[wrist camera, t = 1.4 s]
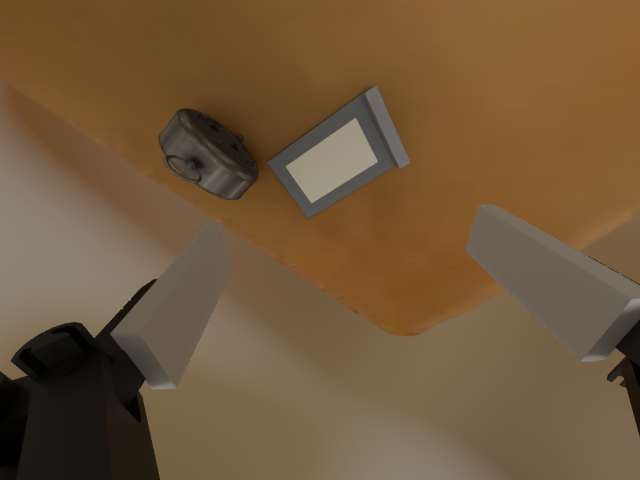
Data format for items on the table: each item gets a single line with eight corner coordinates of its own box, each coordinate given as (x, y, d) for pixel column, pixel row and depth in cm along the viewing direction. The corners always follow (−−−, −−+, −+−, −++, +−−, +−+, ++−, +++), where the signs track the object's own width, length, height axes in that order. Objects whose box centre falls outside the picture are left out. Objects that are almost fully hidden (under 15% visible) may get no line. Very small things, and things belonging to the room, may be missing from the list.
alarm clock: (188, 129, 33) (98, 147, 19) (211, 100, 32) (129, 95, 18) (249, 185, 38) (211, 233, 24) (272, 161, 36) (245, 198, 22)
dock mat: (267, 161, 36) (263, 165, 33) (371, 86, 31) (376, 84, 29) (308, 216, 41) (308, 224, 38) (403, 158, 36) (410, 162, 33)
